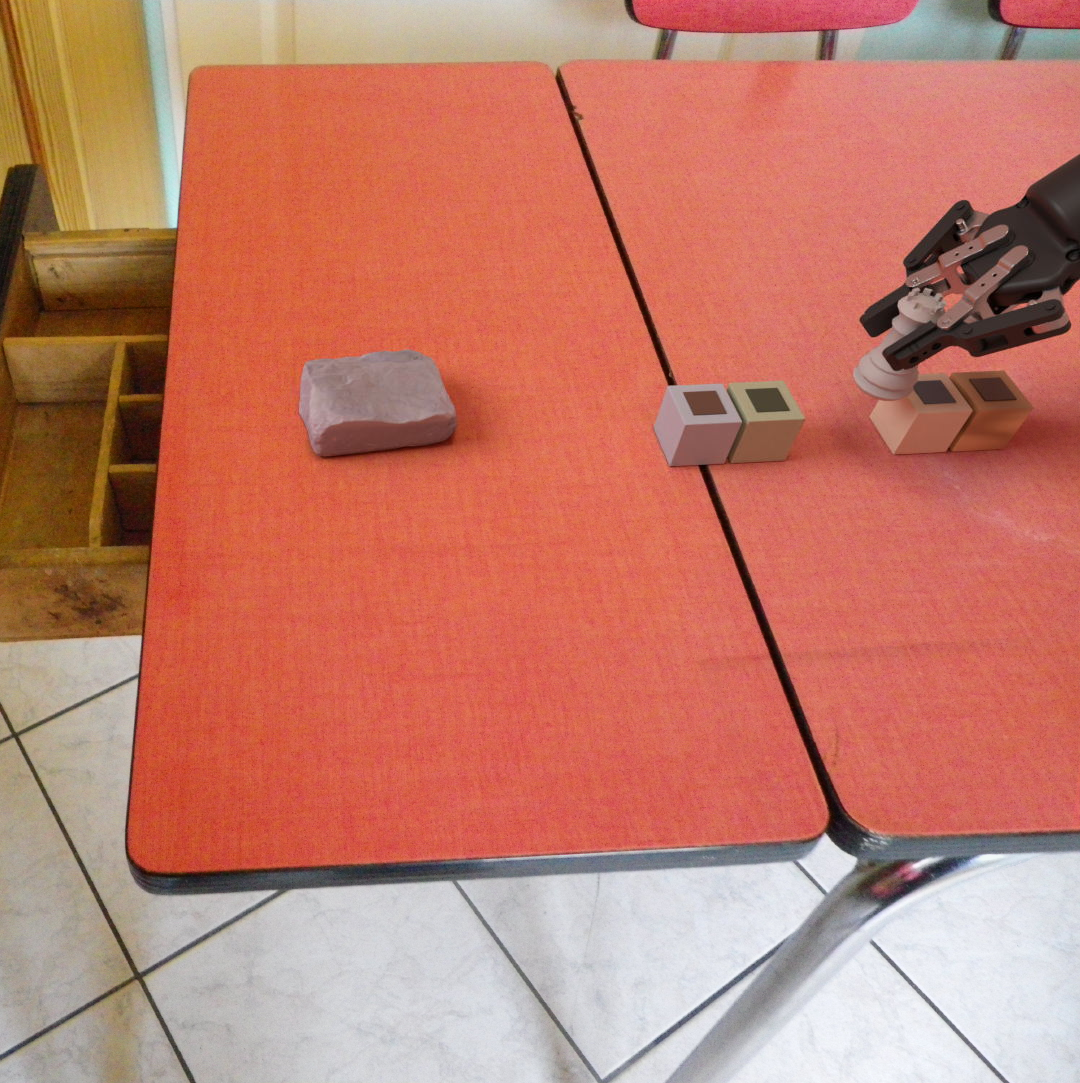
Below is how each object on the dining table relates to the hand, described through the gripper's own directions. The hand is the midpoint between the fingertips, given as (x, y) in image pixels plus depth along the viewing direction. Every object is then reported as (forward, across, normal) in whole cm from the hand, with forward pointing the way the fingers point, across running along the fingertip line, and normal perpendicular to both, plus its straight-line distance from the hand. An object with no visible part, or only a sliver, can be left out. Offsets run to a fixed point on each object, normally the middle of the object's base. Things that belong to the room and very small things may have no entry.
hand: (877, 344), depth 73 cm
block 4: (-2, 0, +15) cm, 15 cm away
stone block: (+33, -6, -19) cm, 38 cm away
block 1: (+15, 0, -2) cm, 15 cm away
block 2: (+11, 0, +2) cm, 12 cm away
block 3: (+2, 0, +12) cm, 12 cm away
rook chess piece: (+2, 0, +4) cm, 5 cm away
